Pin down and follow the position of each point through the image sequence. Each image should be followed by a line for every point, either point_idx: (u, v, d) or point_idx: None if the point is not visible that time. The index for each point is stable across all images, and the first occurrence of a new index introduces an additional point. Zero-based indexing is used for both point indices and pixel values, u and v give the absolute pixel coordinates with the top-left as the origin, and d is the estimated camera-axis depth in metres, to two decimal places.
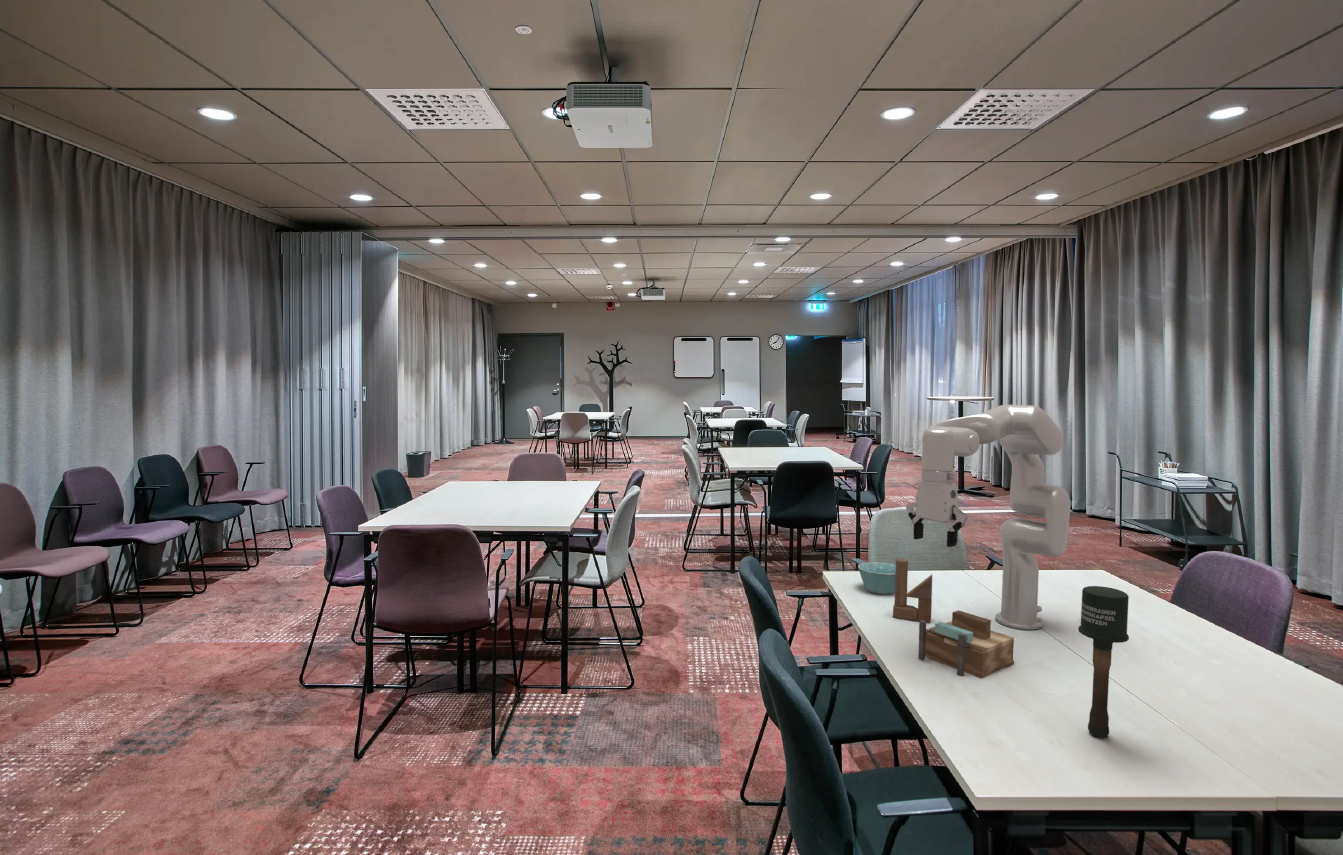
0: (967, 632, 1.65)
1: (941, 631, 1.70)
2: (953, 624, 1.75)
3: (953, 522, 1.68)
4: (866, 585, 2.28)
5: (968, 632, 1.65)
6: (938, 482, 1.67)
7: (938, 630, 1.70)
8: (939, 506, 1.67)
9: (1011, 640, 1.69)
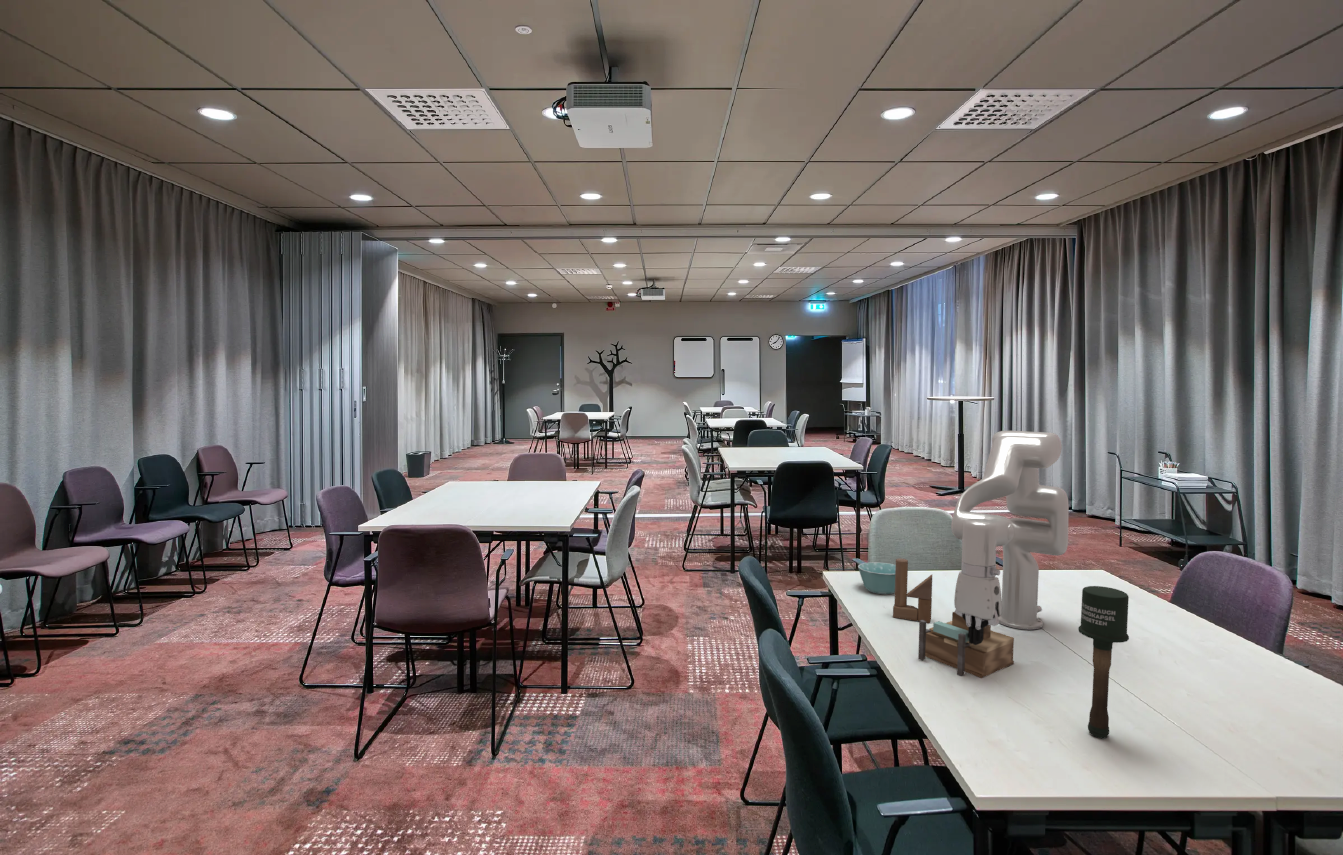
0: (965, 631, 1.65)
1: (939, 630, 1.70)
2: (953, 624, 1.75)
3: None
4: (866, 585, 2.28)
5: (966, 631, 1.65)
6: (981, 577, 1.58)
7: (936, 629, 1.71)
8: (982, 602, 1.59)
9: (1011, 640, 1.69)
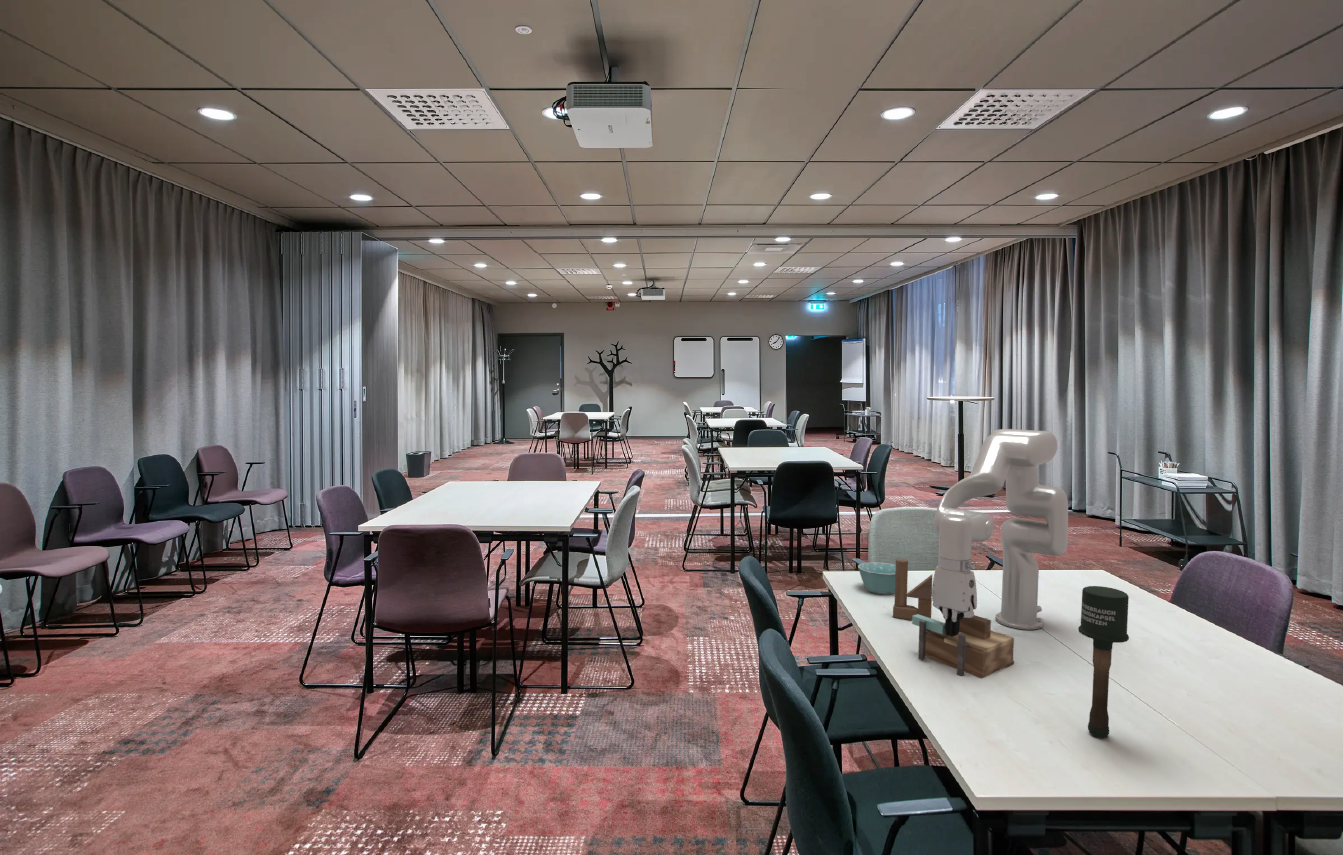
0: (942, 624, 1.70)
1: (918, 623, 1.75)
2: None
3: (960, 612, 1.67)
4: (866, 585, 2.28)
5: (943, 624, 1.70)
6: (956, 571, 1.64)
7: (915, 622, 1.76)
8: (957, 595, 1.64)
9: (1011, 640, 1.69)
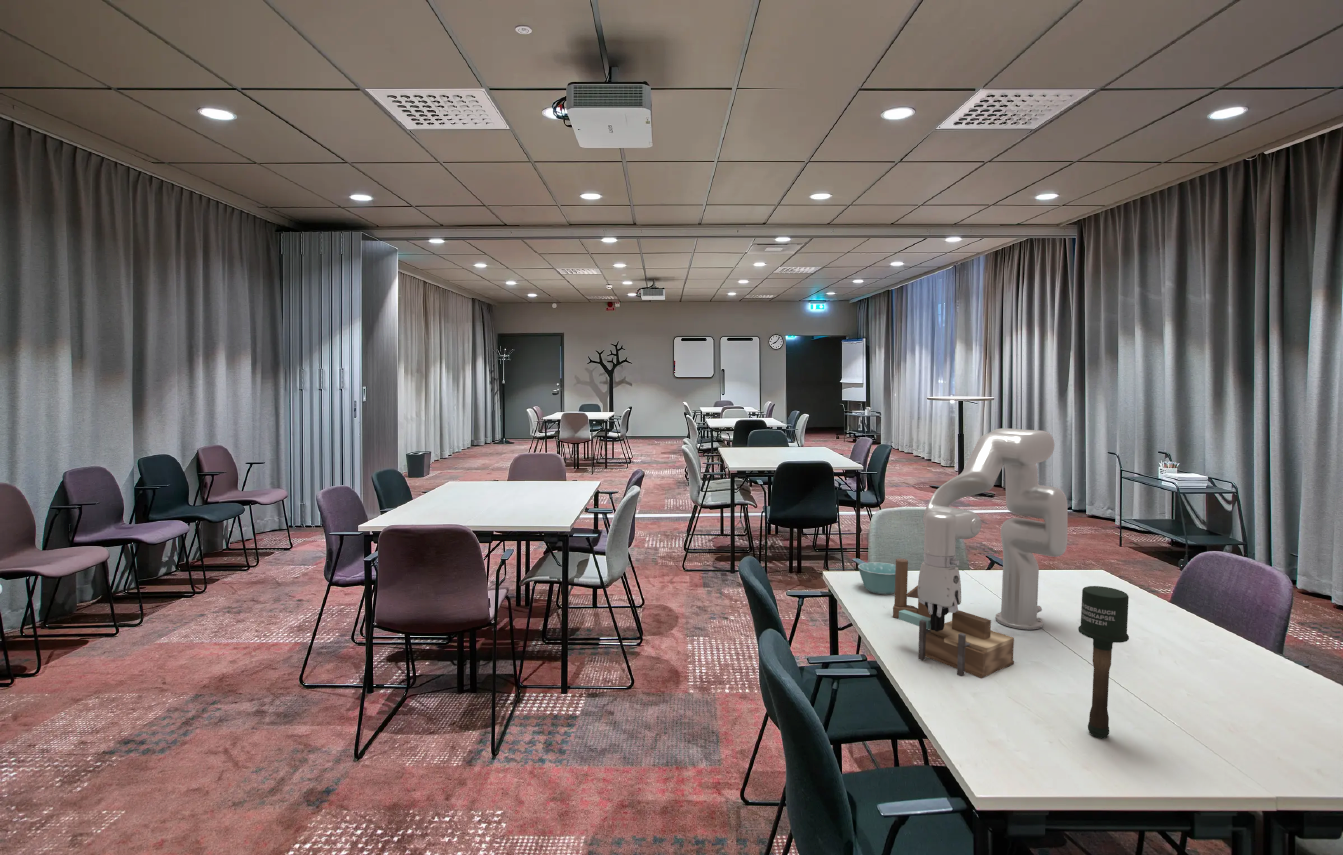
0: (928, 619, 1.74)
1: (904, 618, 1.79)
2: (953, 624, 1.75)
3: (945, 607, 1.71)
4: (866, 585, 2.28)
5: (929, 619, 1.74)
6: (941, 567, 1.67)
7: (901, 617, 1.79)
8: (942, 591, 1.68)
9: (1011, 640, 1.69)
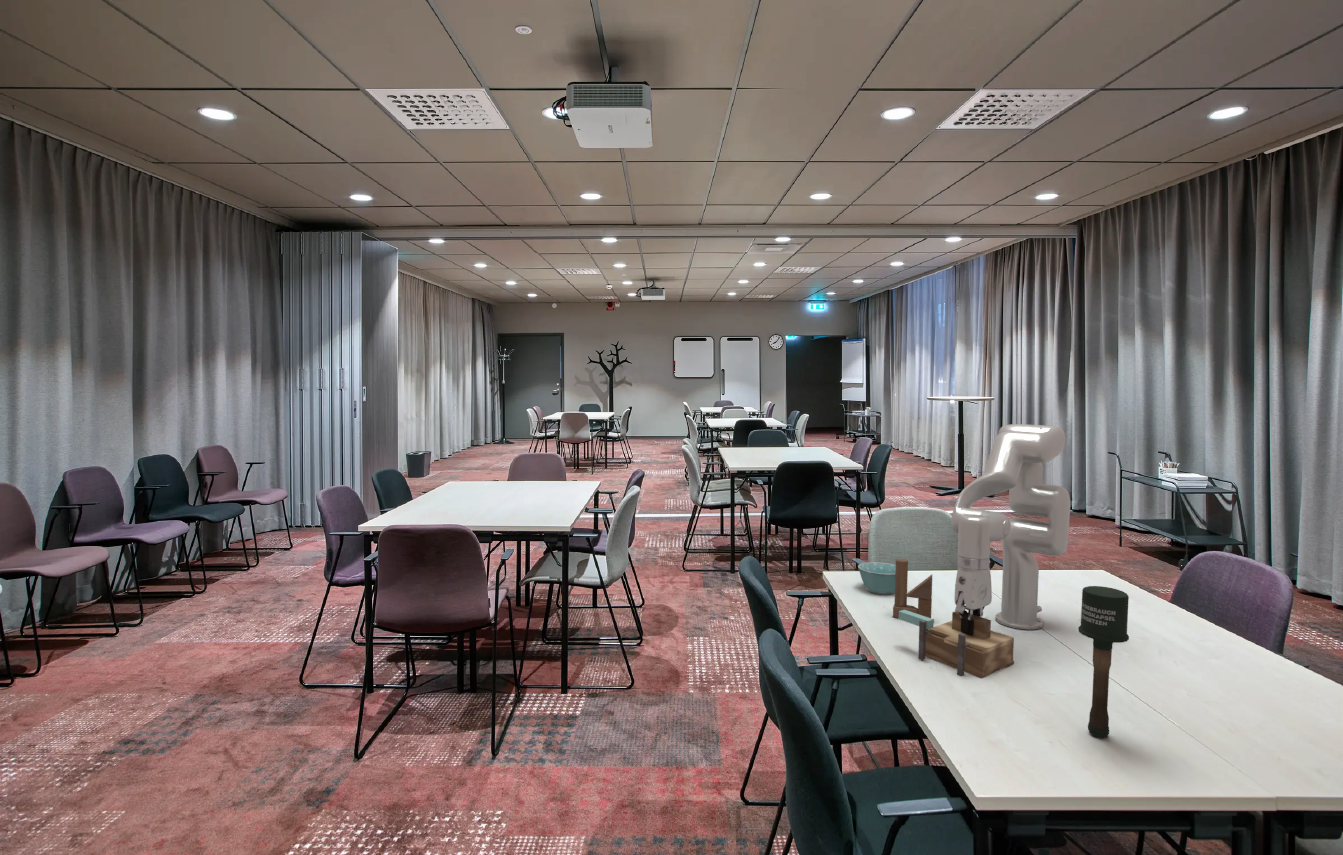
0: (928, 619, 1.74)
1: (904, 618, 1.79)
2: (953, 624, 1.75)
3: None
4: (866, 585, 2.28)
5: (929, 619, 1.74)
6: (957, 565, 1.72)
7: (901, 617, 1.79)
8: None
9: (1011, 640, 1.69)
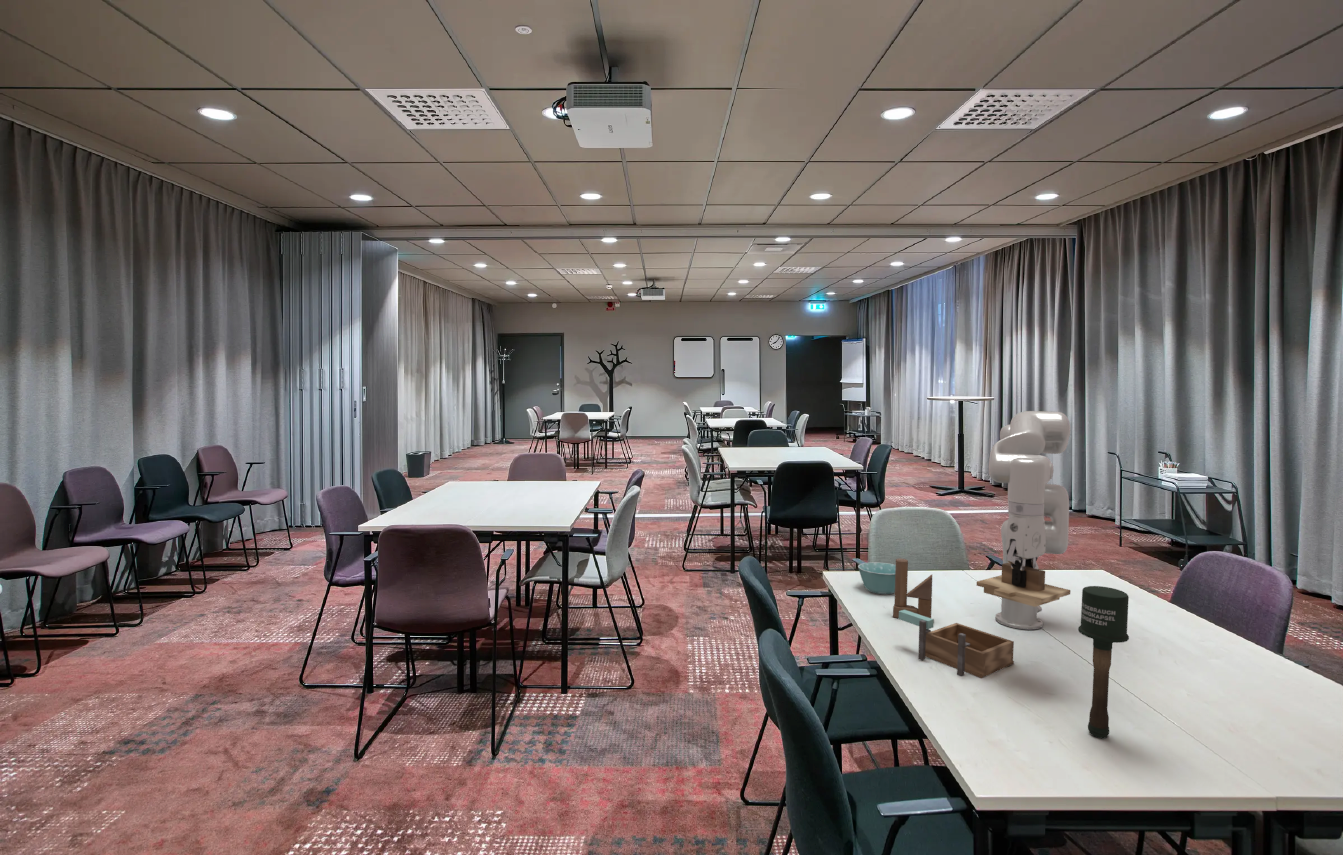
0: (928, 619, 1.74)
1: (904, 618, 1.79)
2: (1003, 577, 1.63)
3: None
4: (866, 585, 2.28)
5: (929, 619, 1.74)
6: (1008, 512, 1.60)
7: (901, 617, 1.79)
8: None
9: (1067, 592, 1.56)
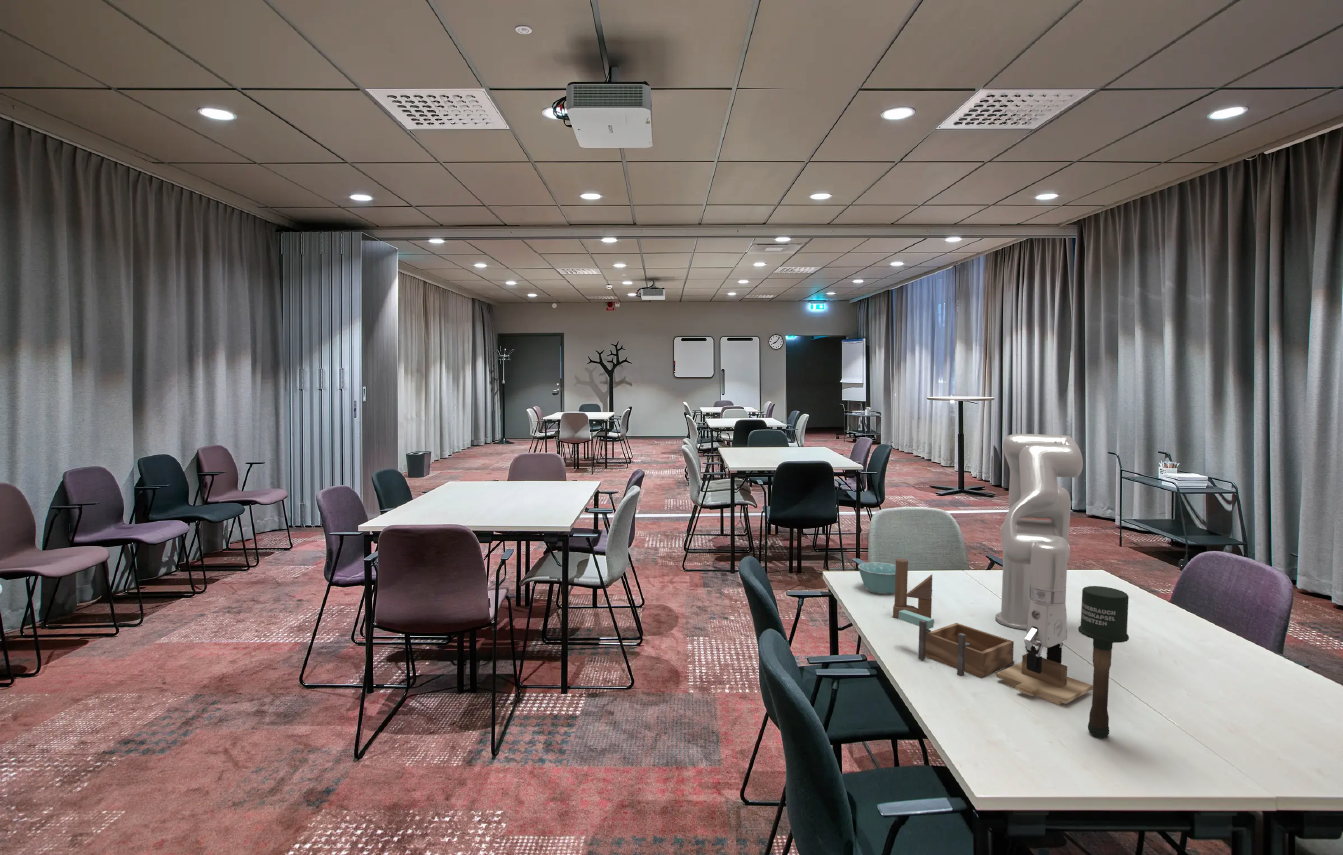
0: (928, 619, 1.74)
1: (904, 618, 1.79)
2: (1023, 668, 1.59)
3: None
4: (866, 585, 2.28)
5: (929, 619, 1.74)
6: (1029, 597, 1.56)
7: (901, 617, 1.79)
8: None
9: (1090, 688, 1.53)
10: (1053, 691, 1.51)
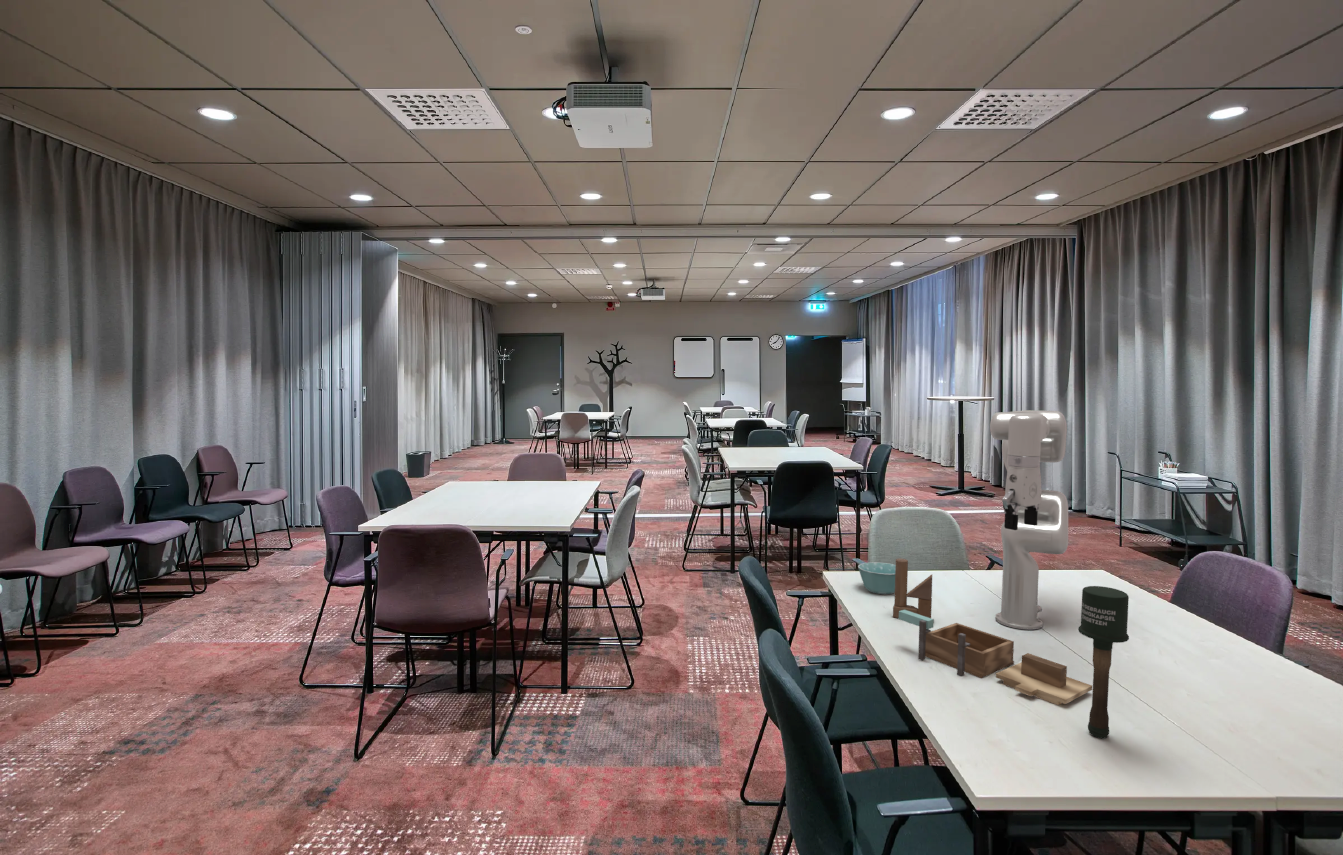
0: (928, 619, 1.74)
1: (904, 618, 1.79)
2: (1023, 669, 1.59)
3: None
4: (866, 585, 2.28)
5: (929, 619, 1.74)
6: (1007, 465, 1.74)
7: (901, 617, 1.79)
8: None
9: (1089, 688, 1.53)
10: (1052, 691, 1.50)
